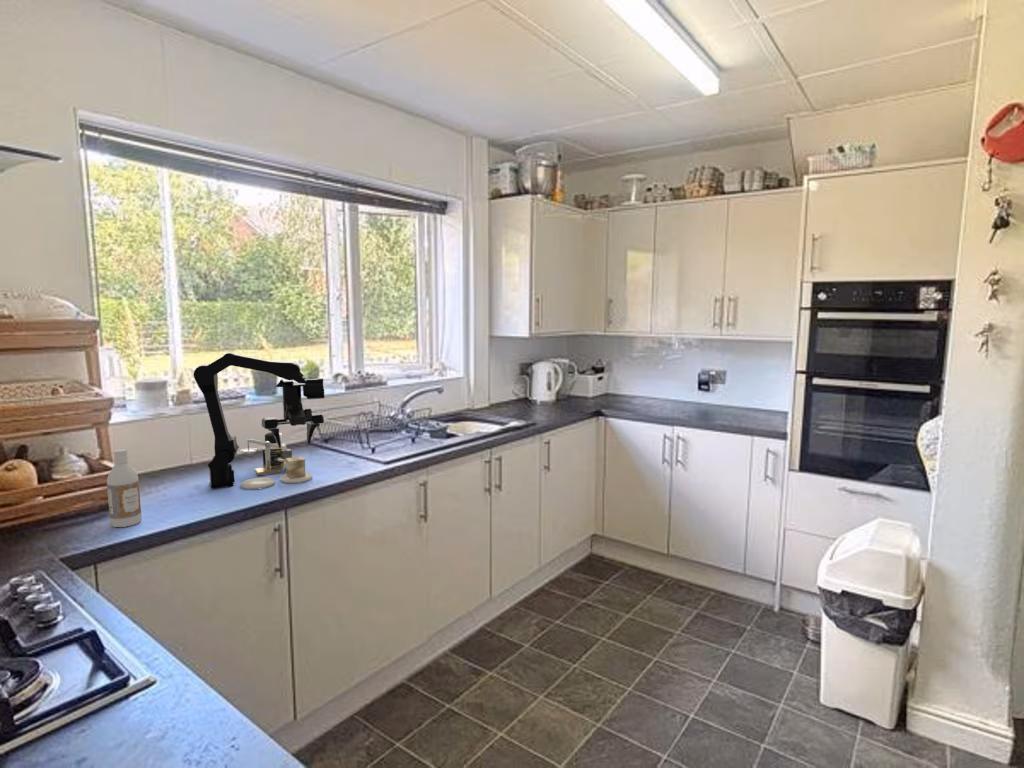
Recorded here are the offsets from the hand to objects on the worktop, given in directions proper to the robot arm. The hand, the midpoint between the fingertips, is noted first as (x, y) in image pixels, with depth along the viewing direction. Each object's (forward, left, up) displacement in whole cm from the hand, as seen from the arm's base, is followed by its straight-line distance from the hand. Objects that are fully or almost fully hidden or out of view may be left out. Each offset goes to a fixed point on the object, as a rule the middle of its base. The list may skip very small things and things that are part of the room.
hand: (294, 445), depth 195 cm
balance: (-6, +14, -11) cm, 19 cm away
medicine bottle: (-2, +23, -12) cm, 26 cm away
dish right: (0, 0, -11) cm, 11 cm away
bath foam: (-48, -18, -12) cm, 52 cm away
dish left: (-12, 0, -11) cm, 16 cm away
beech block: (0, 0, -10) cm, 10 cm away
